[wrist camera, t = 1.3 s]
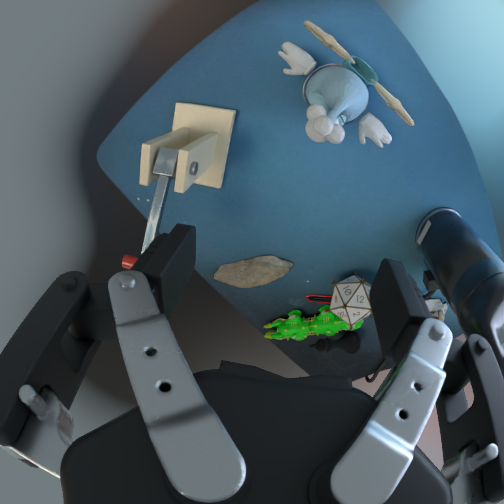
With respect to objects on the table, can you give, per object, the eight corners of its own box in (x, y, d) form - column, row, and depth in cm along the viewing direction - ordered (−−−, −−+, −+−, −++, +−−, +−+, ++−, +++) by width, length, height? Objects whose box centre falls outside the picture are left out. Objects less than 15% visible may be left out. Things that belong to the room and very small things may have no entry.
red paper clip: (304, 302, 49) (304, 300, 49) (380, 308, 47) (379, 306, 47) (305, 294, 48) (305, 291, 48) (383, 300, 46) (382, 297, 46)
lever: (168, 277, 30) (161, 281, 28) (128, 265, 30) (118, 268, 28) (197, 157, 29) (192, 152, 27) (155, 150, 29) (147, 144, 27)
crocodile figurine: (361, 322, 50) (364, 339, 46) (269, 336, 55) (267, 352, 51) (359, 296, 47) (363, 313, 43) (260, 312, 52) (257, 329, 48)
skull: (449, 294, 45) (460, 311, 40) (433, 340, 50) (441, 358, 44) (405, 294, 47) (413, 313, 42) (391, 341, 52) (397, 361, 46)
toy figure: (254, 82, 32) (229, 75, 19) (307, 27, 27) (315, -11, 14) (349, 166, 36) (378, 209, 23) (401, 115, 31) (456, 133, 18)
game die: (348, 280, 50) (343, 335, 46) (317, 266, 46) (310, 328, 42) (391, 272, 43) (388, 333, 39) (363, 255, 39) (359, 326, 35)
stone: (211, 260, 48) (223, 280, 51) (207, 272, 46) (219, 292, 49) (289, 250, 44) (296, 273, 47) (287, 263, 42) (294, 286, 45)
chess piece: (344, 333, 53) (301, 336, 49) (358, 328, 50) (315, 330, 46) (347, 355, 51) (304, 360, 47) (362, 351, 48) (318, 356, 44)
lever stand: (221, 185, 40) (193, 225, 29) (170, 174, 40) (126, 209, 29) (236, 110, 34) (209, 119, 23) (179, 101, 34) (132, 110, 23)
